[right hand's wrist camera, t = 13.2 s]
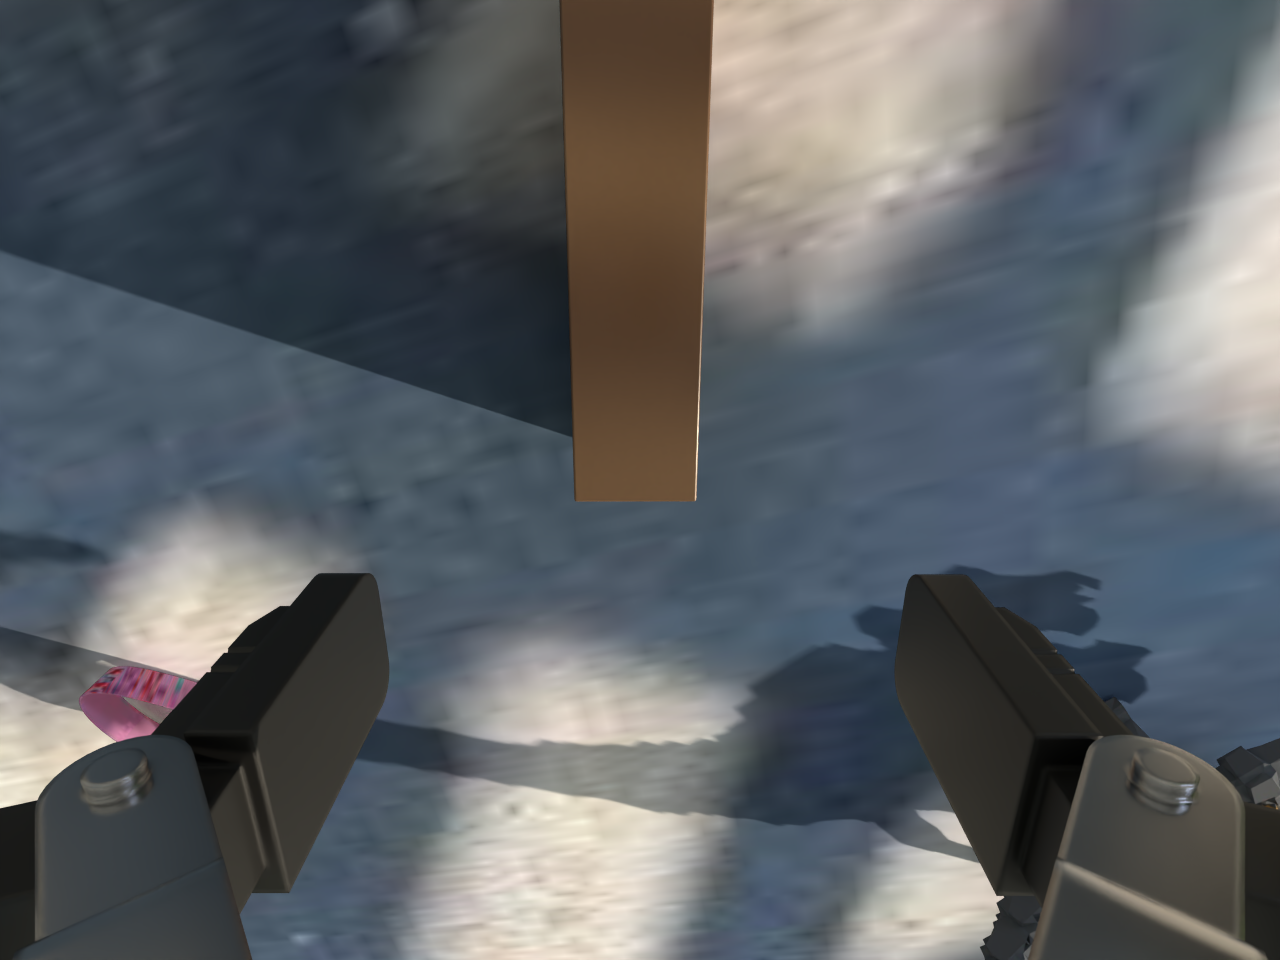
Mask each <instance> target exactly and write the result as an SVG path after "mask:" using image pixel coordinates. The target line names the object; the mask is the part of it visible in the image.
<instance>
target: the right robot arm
mask: <svg viewBox="0 0 1280 960" xmlns="http://www.w3.org/2000/svg"><path fill="white" fill-rule="evenodd" d="M388 682H389V659H388V652H387V645H386V638H385V631H384V625H383V618H382V611H381V604H380V598H379V591H378V586H377V582H376V580H375V578H374V576H373V575H372V574H370V573H320V574H318V575H316V576H315V577H314V578H313V579H312V580H311V582H310V583H309V584H308V585H307V586H306V588H305V589H304V590H303V591H302V592H301V594H300V595H299V596H298V597H297V598H296V600H295V601H294V602H293V603H292V604H291V605H290V606H279V607H278V608H276V609H275V610H273V611H271V612H270V613H268V614H266V615H265V616H263V617H262V618H260V619H258V620H257V621H255V622H253V623H252V624H250V625H249V626H248V627H247V628H246V629H245V630H244V631H243V632H242V633H241V634H240V636H239V637H238V638H237V639H236V640H235V641H234V642H233V643H232V645H231V646H230V647H229V648H228V653H223V655H222V656H221V657H220V658H219V659H218V660H217V661H216V662H215V664H214V665H213V666H212V667H211V672H206V674H205V675H204V676H203V677H202V678H201V679H200V680H199V681H198V683H197V684H196V685H195V686H194V687H193V688H192V689H191V690H190V691H189V693H188V694H187V695H186V696H185V697H184V698H183V699H182V700H181V701H180V703H179V704H178V705H177V706H176V707H175V708H174V709H173V710H172V712H171V713H170V714H169V715H168V716H167V717H166V718H165V719H164V720H163V722H162V723H161V724H160V725H159V726H158V727H157V728H156V729H155V731H154V732H153V733H152V734H151V735H147V736H139V737H134V738H130V739H125V740H122V741H119V742H116V743H113V744H110V745H107V746H105V747H102V748H100V749H98V750H96V751H94V752H92V753H90V754H87V755H86V756H84V757H82V758H81V759H79V760H77V761H75V762H74V763H72V764H71V765H70V766H68V767H67V768H65V769H64V770H63V771H62V772H60V773H59V774H58V775H57V776H56V777H54V778H53V780H52V781H51V782H50V783H49V784H48V785H47V786H46V787H45V789H44V790H43V791H42V793H41V794H40V796H39V798H38V800H37V801H32V802H28V803H23V804H18V805H14V806H9V807H5V808H0V960H252V957H251V953H250V950H249V946H248V943H247V939H246V936H245V932H244V929H243V925H242V922H241V918H240V913H241V911H242V909H243V908H244V906H245V904H246V902H247V900H248V898H249V897H250V895H251V893H289V892H290V890H291V888H292V886H293V884H294V882H295V880H296V878H297V876H298V874H299V872H300V870H301V868H302V866H303V864H304V862H305V860H306V858H307V856H308V854H309V852H310V850H311V848H312V846H313V844H314V842H315V840H316V838H317V836H318V834H319V832H320V830H321V828H322V826H323V824H324V822H325V820H326V818H327V816H328V814H329V812H330V810H331V808H332V806H333V804H334V802H335V800H336V798H337V796H338V794H339V792H340V790H341V788H342V786H343V784H344V782H345V780H346V778H347V776H348V774H349V772H350V770H351V768H352V766H353V764H354V762H355V760H356V758H357V756H358V754H359V751H360V749H361V747H362V745H363V743H364V741H365V739H366V737H367V735H368V733H369V731H370V729H371V727H372V725H373V723H374V721H375V719H376V717H377V715H378V713H379V711H380V709H381V707H382V705H383V703H384V700H385V697H386V693H387V689H388ZM895 685H896V691H897V695H898V699H899V702H900V705H901V707H902V709H903V711H904V713H905V715H906V717H907V719H908V721H909V723H910V725H911V727H912V729H913V731H914V733H915V735H916V737H917V739H918V741H919V743H920V745H921V747H922V749H923V751H924V753H925V755H926V757H927V759H928V761H929V763H930V764H931V766H932V768H933V770H934V772H935V774H936V776H937V778H938V780H939V782H940V784H941V786H942V788H943V790H944V792H945V794H946V796H947V798H948V800H949V802H950V804H951V806H952V808H953V810H954V812H955V814H956V816H957V818H958V820H959V822H960V824H961V826H962V828H963V830H964V832H965V834H966V836H967V838H968V840H969V842H970V844H971V846H972V848H973V850H974V852H975V854H976V856H977V858H978V860H979V862H980V864H981V866H982V868H983V870H984V872H985V874H986V876H987V878H988V880H989V882H990V884H991V886H992V887H993V889H994V891H995V893H996V895H997V896H1035V897H1036V899H1037V901H1038V903H1039V905H1040V906H1041V908H1042V911H1041V914H1040V918H1039V922H1038V925H1037V929H1036V932H1035V936H1034V939H1033V943H1032V946H1031V950H1030V953H1029V957H1028V960H1280V810H1279V809H1274V808H1270V807H1265V806H1261V805H1256V804H1252V803H1248V802H1244V801H1243V800H1242V798H1241V796H1240V794H1239V793H1238V791H1237V790H1236V789H1235V787H1234V786H1233V785H1232V784H1231V783H1230V782H1229V781H1228V780H1227V778H1226V777H1224V776H1223V775H1222V774H1221V773H1220V772H1218V771H1217V770H1216V769H1215V768H1213V767H1212V766H1210V765H1209V764H1208V763H1206V762H1205V761H1203V760H1201V759H1199V758H1198V757H1196V756H1194V755H1193V754H1190V753H1188V752H1186V751H1184V750H1182V749H1180V748H1178V747H1175V746H1173V745H1170V744H1167V743H1164V742H1161V741H1158V740H1155V739H1150V738H1146V737H1141V736H1134V735H1133V733H1132V732H1131V731H1130V730H1129V729H1128V728H1127V727H1126V726H1125V725H1124V723H1123V722H1122V721H1121V720H1120V719H1119V718H1118V717H1117V716H1116V715H1115V713H1114V712H1113V711H1112V710H1111V709H1110V708H1109V707H1108V706H1107V705H1106V704H1105V702H1104V701H1103V700H1102V699H1101V698H1100V697H1099V696H1098V695H1097V694H1096V692H1095V691H1094V690H1093V689H1092V688H1091V687H1090V686H1089V685H1088V684H1087V682H1086V681H1085V680H1084V679H1083V678H1082V677H1081V676H1080V675H1079V674H1075V672H1074V668H1073V667H1072V666H1071V665H1070V664H1069V663H1068V661H1067V660H1066V659H1065V658H1064V657H1063V656H1062V655H1058V654H1057V649H1056V648H1055V647H1054V646H1053V645H1052V644H1051V643H1050V642H1049V640H1048V639H1047V638H1046V637H1045V636H1044V635H1043V634H1042V633H1041V632H1040V630H1039V629H1038V628H1037V627H1036V626H1034V625H1032V624H1031V623H1029V622H1027V621H1026V620H1024V619H1023V618H1021V617H1019V616H1018V615H1016V614H1014V613H1013V612H1011V611H1009V610H1008V609H1006V608H1005V607H994V606H993V605H992V604H991V602H990V601H989V600H988V599H987V598H986V596H985V595H984V594H983V593H982V592H981V591H980V589H979V588H978V587H977V586H976V585H975V583H974V582H973V581H972V580H971V579H970V578H969V577H968V576H966V575H963V574H915V575H913V576H911V578H910V579H909V581H908V584H907V587H906V592H905V599H904V605H903V612H902V619H901V626H900V632H899V639H898V646H897V652H896V659H895Z"/></svg>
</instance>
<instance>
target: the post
mask: <svg viewBox="0 0 1280 960" xmlns="http://www.w3.org/2000/svg"><path fill="white" fill-rule="evenodd" d="M713 8H714V0H560V34H561V67H562V100H563V134H564V167H565V200H566V234H567V267H568V300H569V334H570V367H571V400H572V434H573V467H574V499H575V501H696V493H697V464H698V436H699V407H700V379H701V350H702V322H703V293H704V265H705V236H706V208H707V179H708V151H709V122H710V94H711V65H712V37H713Z"/></svg>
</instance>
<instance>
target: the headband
mask: <svg viewBox="0 0 1280 960" xmlns="http://www.w3.org/2000/svg"><path fill="white" fill-rule="evenodd" d="M196 684H197V683H196V682H193V681H190V680H186V679H183V678H179V677H176V676H172V675H168V674H165V673H161V672H157V671H152V670H148V669H142V668H137V667H128V666H119V667H114V668H111V669H110V670H109V671H107V672H106V673H105V674H104V675H103V676H102V677H101V678H100V679H99V680H98V681H97V682H96V683H95V684H93V685H92V686H91V687H90V688H89V689H88V690H87V691H86V692H85V693H84V694H83V695H82V696H81V697H80V698H79V704H80V707H81V709H82V711H83V712H84V714H85V715H86V716H87V717H88V718H89V719H90V721H91V722H92V723H94V724H95V725H96V726H97V727H98V728H99V729H100V730H101V731H103V732H104V733H105V734H106V735H108V736H109V737H111V738H112V739H113V740H115V741H116V742H119V741H122V740H125V739H130V738H134V737H139V736H147V735H151V734H152V733H153V732H154V731H155V729H156V728H157V727H158V726H159V725H160V724H158V723H156V722H155V721H153V720H151V719H150V718H148V717H147V716H145V715H144V714H142V713H141V712H139V711H138V710H137V709H135V708H134V707H133V706H132V705H130V704H129V703H128V702H127V701H126V700H125V699H124V698H123V697H128V698H133V699H137V700H141V701H145V702H149V703H152V704H156V705H160V706H163V707H167V708H170V709H174V708H175V707H176V706H177V705H178V704H179V703H180V701H181V700H182V699H183V698H184V697H185V696H186V695H187V694H188V693H189V691H190V690H191V689H192V688H193V687H194V686H195V685H196ZM122 696H123V697H122Z"/></svg>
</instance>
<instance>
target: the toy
mask: <svg viewBox="0 0 1280 960" xmlns="http://www.w3.org/2000/svg"><path fill="white" fill-rule="evenodd" d="M1105 704H1106V705H1107V706H1108V707H1109V708H1110V709H1111V710H1112V711H1113V712H1114V713H1115V715H1116V716H1117V717H1118V718H1119V719H1120V720H1121V721H1122V722H1123V723H1124V725H1125V726H1126V727H1127V728H1128V729H1129V730H1130V731H1131V732H1132V733H1133V735H1134V736H1141V737H1146V738H1149V737H1148V736H1147V735H1146V733H1145V732H1144V731H1143V730H1142V729H1141V728H1140V727H1139V726H1138V725H1137V724H1136V723H1135V722H1134V721H1133V720H1132V719H1131V718H1130V716H1129V714H1128V713H1127V711H1126V710H1125V708H1124V707H1123V706H1122V704H1121V703H1120V702H1119V701H1118V700H1117V699H1116V698H1115V697H1114V698H1112V699H1110V700H1108V701H1106V702H1105ZM1217 761H1218V763H1219V765H1220V766H1219V767H1217V768H1215V769H1216V770H1217V771H1218V772H1220V773H1221V774H1222V775H1223V776H1224V777H1226V778H1227V780H1228V781H1229V782H1230V783H1231V784H1232V785H1233V786H1234V787H1235V789H1236V790H1237V791H1238V793H1239V794H1240V796H1241V798H1242V800H1243V801H1244V802H1248V803H1252V804H1256V805H1261V806H1265V807H1270V808H1274V809H1279V810H1280V738H1279V739H1277V740H1274V741H1271V742H1269V743H1266V744H1264V745H1261V746H1258V747H1254V748H1251V749H1247V750H1245V749H1244V748H1243V747H1242V746H1240V747H1238V748H1236V749H1235V750H1233V751H1231V752H1229V753H1228V754H1226V755H1224V756H1222V757H1221V758H1219V759H1217ZM997 906H998V908H999V911H1000V913H998V914H996V917H997V919H998V920H997V921H995V922H993V924H994V929H993V931H992V934H991V935H990V936H988V937H986V938H985V939H983V941H984V943H985V945H983V946H981V947H980V948H981V950H982V952H983V955H984V957H985V960H1028V957H1029V953H1030V950H1031V946H1032V943H1033V939H1034V936H1035V932H1036V929H1037V925H1038V922H1039V918H1040V914H1041V911H1042V908H1041V906H1040V905H1039V903H1038V901H1037V899H1036V897H1035V896H1004V898H1003V899H1002V900H1000V901H999V902H997Z"/></svg>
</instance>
